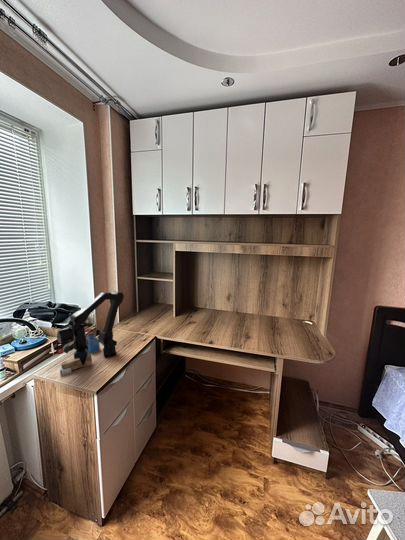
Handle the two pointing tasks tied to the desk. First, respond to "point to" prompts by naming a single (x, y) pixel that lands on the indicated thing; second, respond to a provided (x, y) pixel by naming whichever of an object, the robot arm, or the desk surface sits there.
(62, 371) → the bracket
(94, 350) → the perfume bottle
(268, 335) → the desk surface
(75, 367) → the rail
